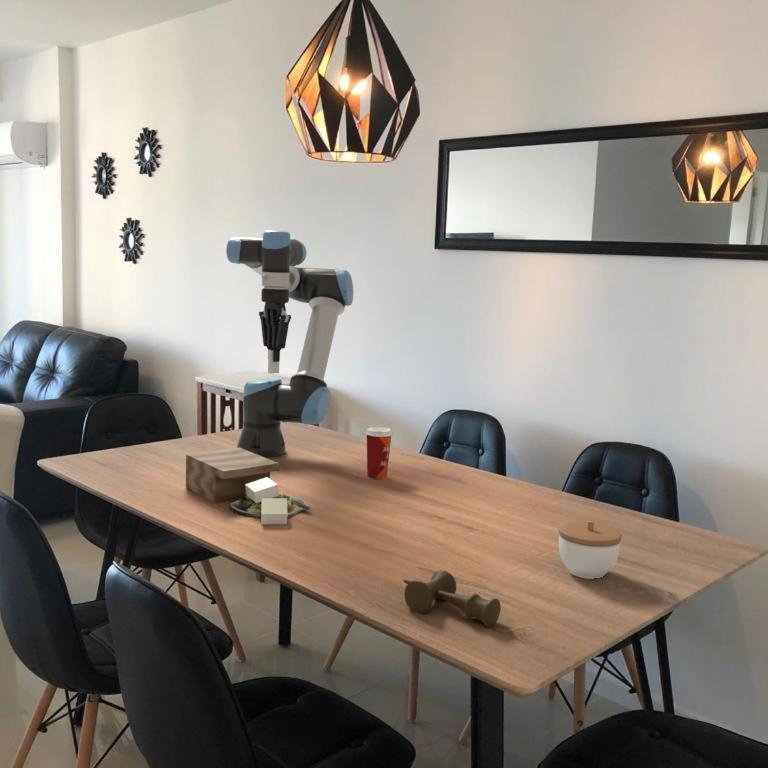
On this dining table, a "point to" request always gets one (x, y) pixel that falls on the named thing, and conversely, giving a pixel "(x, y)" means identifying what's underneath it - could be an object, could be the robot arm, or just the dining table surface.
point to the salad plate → (254, 509)
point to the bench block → (225, 472)
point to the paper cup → (378, 451)
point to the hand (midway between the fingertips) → (273, 372)
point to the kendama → (450, 598)
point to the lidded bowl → (588, 548)
